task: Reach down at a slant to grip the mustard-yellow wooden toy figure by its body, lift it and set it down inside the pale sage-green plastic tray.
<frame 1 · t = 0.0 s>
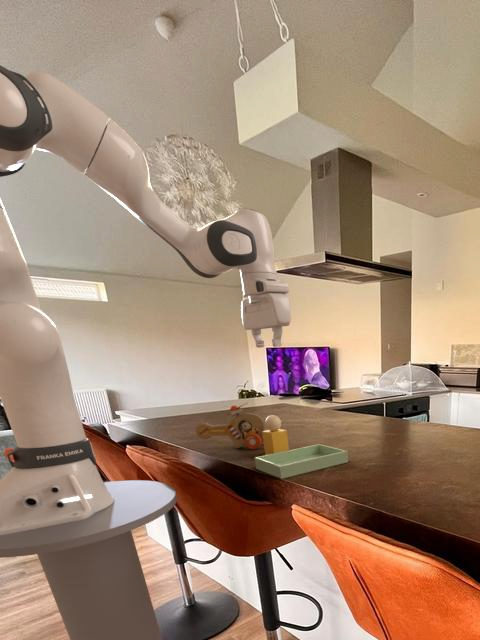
hand: (268, 347, 111), 29 cm above the countertop, tool pointing down, fingers open, 8 cm apart
tray: (302, 465, 109), on the countertop
toy helicopter: (237, 448, 133), on the countertop
toy figure: (277, 454, 121), on the countertop
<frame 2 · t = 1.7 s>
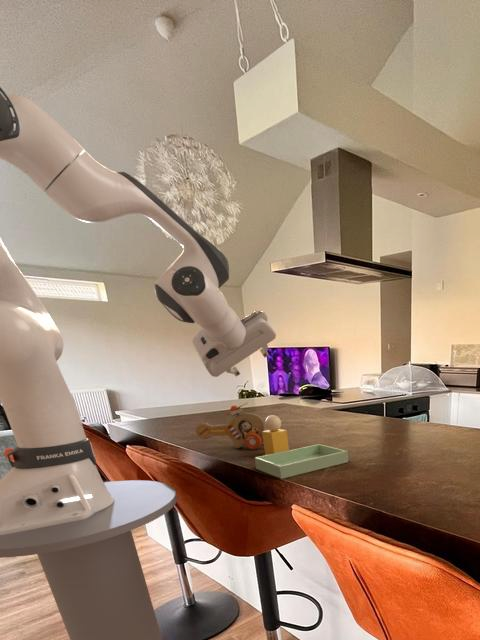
hand: (251, 364, 116), 25 cm above the countertop, tool tilted 55°, fingers open, 8 cm apart
nothing on the countertop moved.
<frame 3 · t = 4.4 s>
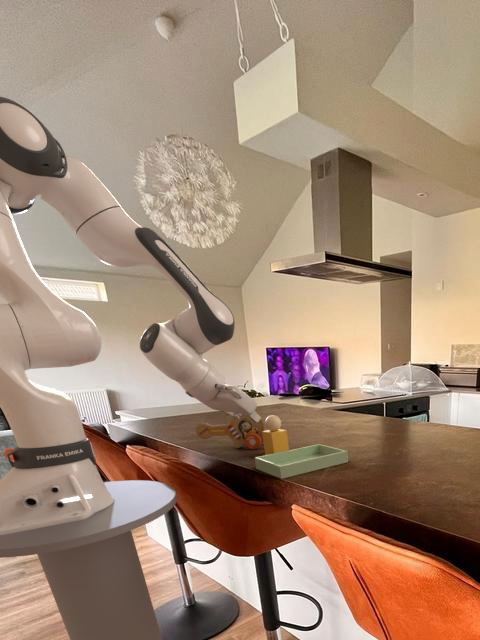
hand: (248, 418, 114), 11 cm above the countertop, tool tilted 45°, fingers open, 8 cm apart
nothing on the countertop moved.
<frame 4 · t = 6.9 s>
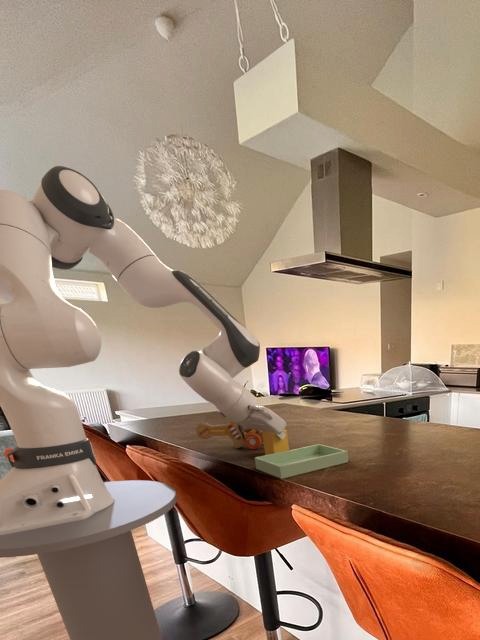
hand: (276, 436, 120), 5 cm above the countertop, tool tilted 45°, fingers closed on toy figure, 5 cm apart
toy figure: (277, 454, 121), on the countertop, touching gripper
everything else where it was.
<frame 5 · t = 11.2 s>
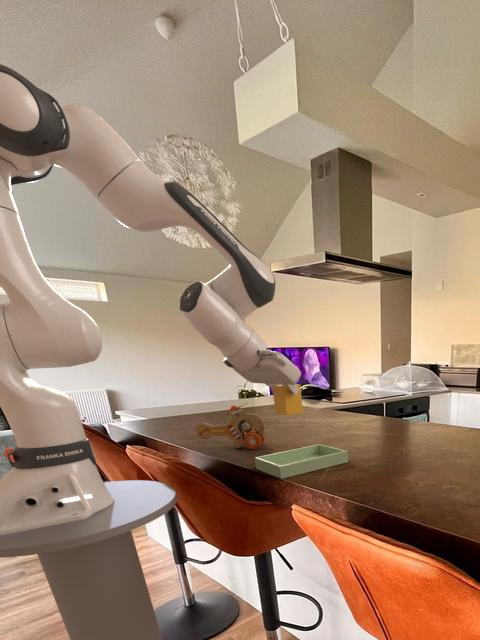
hand: (288, 391, 106), 18 cm above the countertop, tool tilted 45°, fingers closed on toy figure, 5 cm apart
toy figure: (289, 413, 108), point 13 cm above the countertop, touching gripper
everything else where it was.
when the fingers open (6 cm above the countertop, at t = 15.6 s): toy figure stays where it is, resting on tray.
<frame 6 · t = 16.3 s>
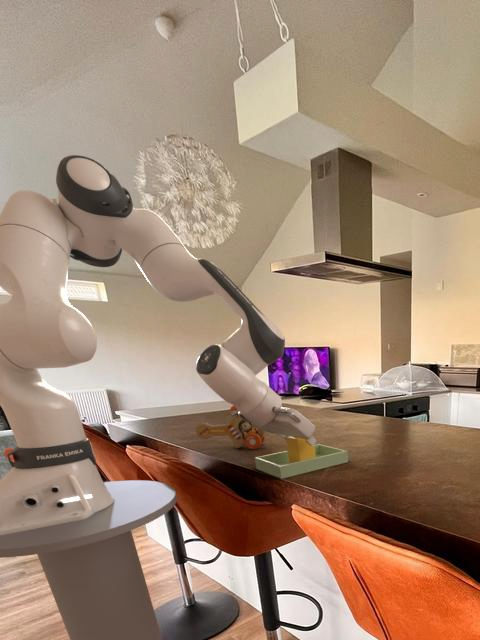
hand: (302, 441, 107), 6 cm above the countertop, tool tilted 45°, fingers open, 8 cm apart
toy figure: (302, 463, 109), resting on tray
everything else where it was.
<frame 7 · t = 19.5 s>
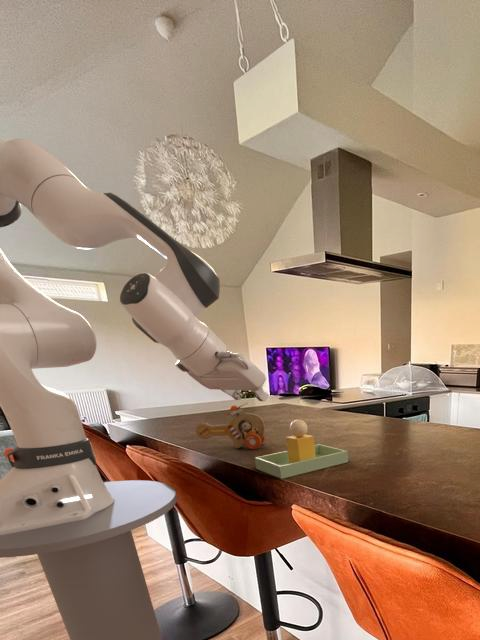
hand: (251, 398, 96), 18 cm above the countertop, tool tilted 45°, fingers open, 8 cm apart
nothing on the countertop moved.
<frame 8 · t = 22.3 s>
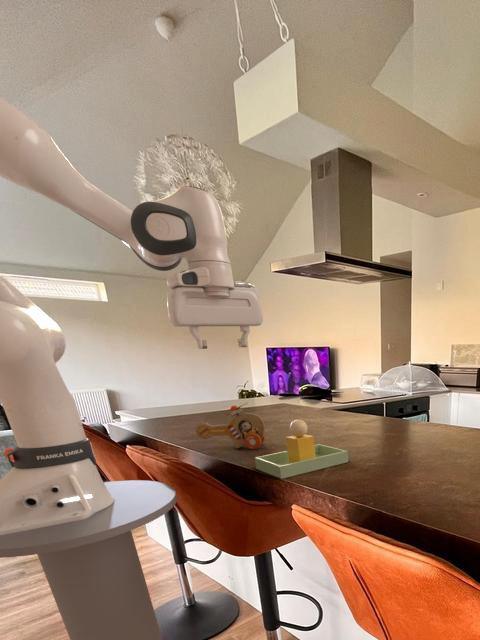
hand: (223, 348, 97), 29 cm above the countertop, tool pointing down, fingers open, 8 cm apart
nothing on the countertop moved.
at the end: toy figure inside the target area in the tray (0.2 cm from its centre), point 0.5 cm above the tray's base; the gripper is holding nothing; toy figure tilted 0° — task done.
